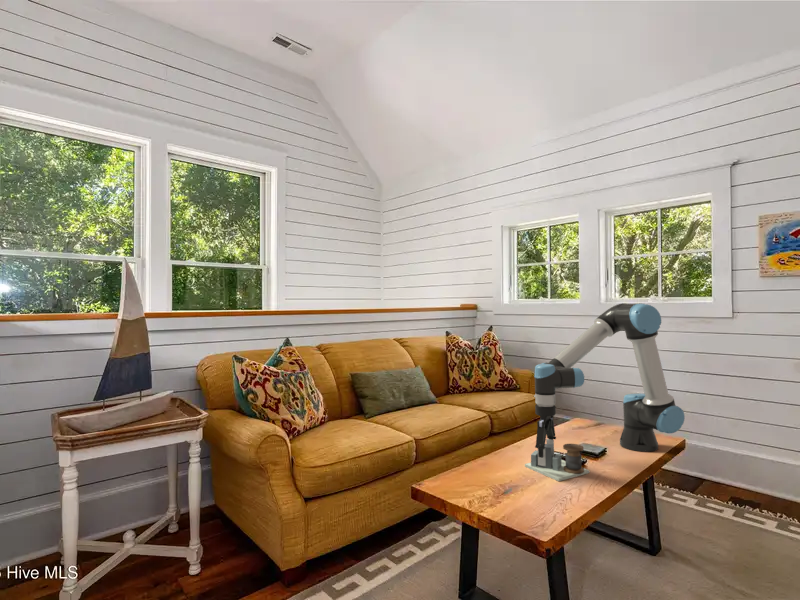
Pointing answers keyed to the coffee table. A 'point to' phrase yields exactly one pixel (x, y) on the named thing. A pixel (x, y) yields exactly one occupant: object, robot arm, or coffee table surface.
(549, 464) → the gray rectangular block
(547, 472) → the board
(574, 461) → the bobbin
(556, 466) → the notch
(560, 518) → the coffee table surface
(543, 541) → the coffee table surface
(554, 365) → the robot arm
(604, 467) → the coffee table surface
